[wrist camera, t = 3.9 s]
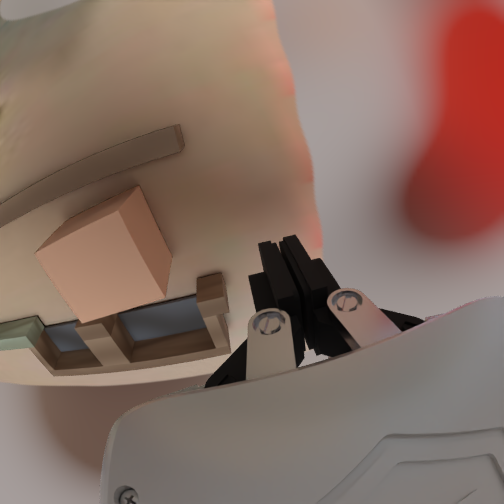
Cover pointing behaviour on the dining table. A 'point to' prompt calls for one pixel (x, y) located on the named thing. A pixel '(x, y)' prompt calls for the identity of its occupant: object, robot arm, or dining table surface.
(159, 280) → the block
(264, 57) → the dining table surface
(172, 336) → the box
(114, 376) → the dining table surface
